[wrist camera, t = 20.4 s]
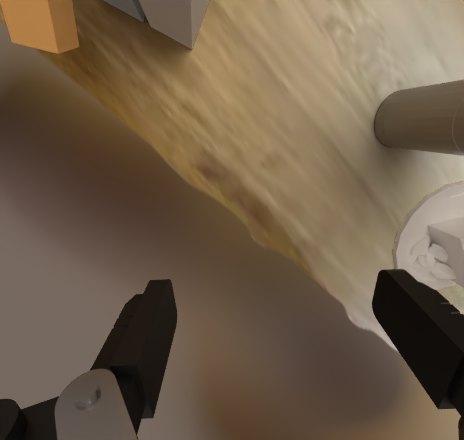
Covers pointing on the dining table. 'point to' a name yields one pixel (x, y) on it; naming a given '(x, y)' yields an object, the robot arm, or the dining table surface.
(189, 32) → the tall pale grey pillar
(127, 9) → the grey box
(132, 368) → the robot arm
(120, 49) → the dining table surface
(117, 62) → the dining table surface
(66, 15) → the bar
